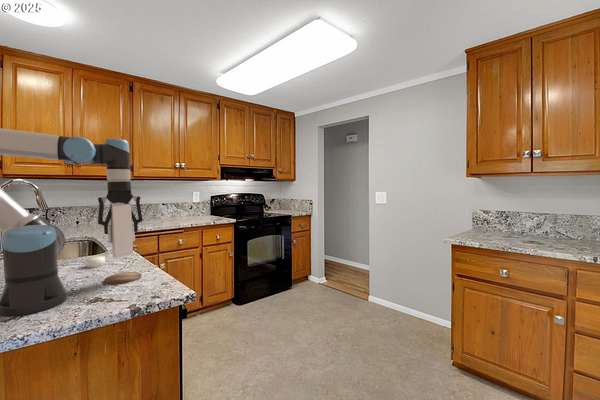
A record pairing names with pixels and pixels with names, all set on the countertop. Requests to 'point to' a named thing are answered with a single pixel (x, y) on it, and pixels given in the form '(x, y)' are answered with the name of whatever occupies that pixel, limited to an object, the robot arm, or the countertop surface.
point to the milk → (121, 229)
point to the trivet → (122, 278)
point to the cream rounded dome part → (95, 262)
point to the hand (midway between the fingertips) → (122, 241)
